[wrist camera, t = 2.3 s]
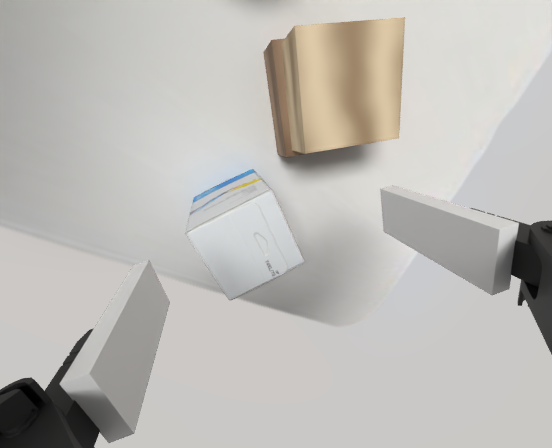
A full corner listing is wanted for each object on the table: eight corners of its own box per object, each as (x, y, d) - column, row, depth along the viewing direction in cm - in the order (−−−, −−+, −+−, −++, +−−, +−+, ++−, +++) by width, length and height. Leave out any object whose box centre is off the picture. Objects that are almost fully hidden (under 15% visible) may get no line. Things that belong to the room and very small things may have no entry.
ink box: (192, 197, 32) (181, 231, 21) (253, 167, 32) (273, 186, 21) (224, 251, 35) (229, 304, 24) (279, 223, 35) (307, 263, 25)
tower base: (277, 154, 32) (286, 157, 28) (263, 53, 28) (271, 40, 24) (355, 139, 34) (375, 141, 30) (353, 43, 30) (375, 29, 26)
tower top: (292, 150, 28) (305, 153, 24) (281, 43, 24) (294, 25, 20) (373, 137, 30) (399, 138, 26) (374, 35, 26) (404, 17, 22)
